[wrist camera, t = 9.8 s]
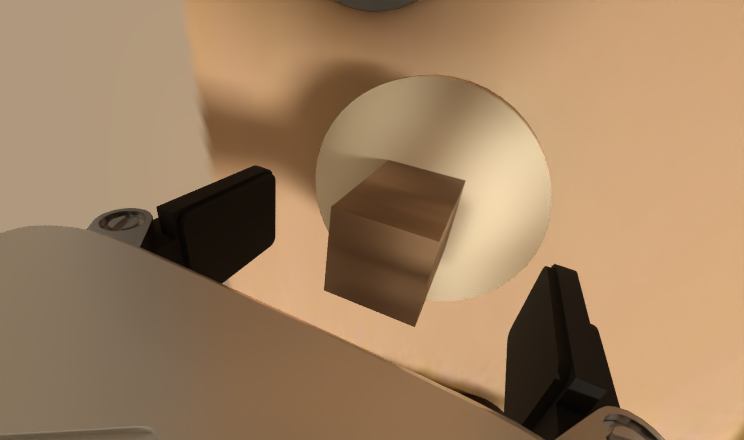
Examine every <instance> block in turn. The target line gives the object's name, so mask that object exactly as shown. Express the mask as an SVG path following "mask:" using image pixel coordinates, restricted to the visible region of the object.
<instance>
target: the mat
mask: <svg viewBox="0 0 744 440" xmlns="http://www.w3.org/2000/svg"><path fill="white" fill-rule="evenodd" d="M336 1H337V2H340V3H342V4H344V5H346V6H349V7H352V8H356V9H359V10H363V11H372V12H379V11H389V10H394V9H399V8H402V7H404V6H407V5H409V4H412V3H414V2H416V1H417V0H336Z"/></svg>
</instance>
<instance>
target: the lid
mask: <svg viewBox="0 0 744 440" xmlns="http://www.w3.org/2000/svg"><path fill="white" fill-rule="evenodd" d="M315 185H316V195H317V201H318V205H319V209H320V213H321V216H322V218H323V221H324V224H325V226H326V228H327V230H328V232H329V237H328V249H327V261H326V273H325V285H324V290H325V291H327V292H330V293H332V294H335V295H337V296H339V297H342V298H344V299H347V300H349V301H352V302H354V303H357V304H359V305H362V306H364V307H367V308H369V309H372V310H374V311H376V312H379V313H381V314H384V315H386V316H389V317H391V318H394V319H396V320H399V321H401V322H404V323H406V324H409V325H411V326H414V327H415V325H416V323H417V320H418V317H419V315H420V312H421V310H422V307H423V304H424V302H425V300H431V301H456V300H464V299H468V298H473V297H477V296H480V295H483V294H485V293H488V292H491V291H493V290H495V289H496V288H498V287H500V286H502V285H504V284H505V283H507V282H508V281H510V280H511V279H512V278H514V277H515V276H516V275H517V274H518V273H519V272H520V271H522V270H523V269H524V268H525V267H526V265H527V264H528V263H529V262H530V260H531V259H532V258H533V257H534V255H535V254H536V252H537V250H538V249H539V247H540V245H541V243H542V241H543V239H544V236H545V233H546V231H547V228H548V224H549V219H550V215H551V204H552V191H551V182H550V175H549V171H548V167H547V164H546V160H545V156H544V153H543V150H542V148H541V146H540V143H539V141H538V139H537V137H536V135H535V134H534V132H533V131H532V129H531V127H530V126H529V124H528V123H527V121H526V120H525V119H524V118H523V117H522V116H521V115H520V114H519V112H518V111H517V110H516V109H515V108H514V107H512V106H511V105H510V104H509V103H508V102H506V101H505V100H504V99H503V98H502V97H500V96H498V95H497V94H495V93H493V92H492V91H490V90H489V89H487V88H485V87H482V86H480V85H478V84H475V83H473V82H471V81H467V80H463V79H460V78H456V77H450V76H441V75H420V76H414V77H408V78H403V79H398V80H394V81H391V82H388V83H385V84H382V85H379V86H377V87H375V88H373V89H371V90H369V91H367V92H365V93H363V94H362V95H361V96H359V97H358V98H356V99H355V100H354V101H352V102H351V103H350V104H349V105H348V106H347V107H346V108H345V109H344V110H343V111H342V112H341V113H340V114H339V115H338V117H337V118H336V119H335V120H334V122H333V123H332V125H331V126H330V128H329V130H328V132H327V133H326V135H325V137H324V140H323V142H322V145H321V147H320V151H319V155H318V159H317V165H316V173H315Z"/></svg>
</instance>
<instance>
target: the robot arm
mask: <svg viewBox="0 0 744 440" xmlns="http://www.w3.org/2000/svg"><path fill="white" fill-rule="evenodd" d="M157 212H158V217H159V218H156V219H154V220H153V216H152V215H151V213H150V212H148V211H146V210H142V209H136V208H126V209H119V210H114V211H110V212H107V213H104V214H102V215H100V216H98V217H97V218H96V219H95V220H94V221H93V222H92V223H91V224H90V226H89V227H88V228H87V229H86V230H85V229H80V228H73V227H63V226H27V227H22V228H17V229H13V230H10V231H6V232H3V233H0V440H665V439H664V438H663V437H662V436H661V435H660V434H659V433H658V432H657V431H656V430H655V429H654V428H653V427H652V426H650V425H649V424H648V423H647V422H645V421H644V420H643V419H641V418H640V417H638V416H636V415H634V414H633V413H631V412H629V411H627V410H624V409H621V408H620V406H619V402H618V399H617V395H616V392H615V388H614V385H613V381H612V377H611V374H610V370H609V367H608V363H607V360H606V356H605V352H604V349H603V345H602V342H601V338H600V335H599V331H598V329H597V327H596V326H594V325H592V324H590V321H589V317H588V313H587V309H586V305H585V301H584V298H583V294H582V290H581V286H580V282H579V278H578V274H577V272H576V271H574V270H571V269H568V268H565V267H562V266H559V265H556V264H554V265H553V266H552V267H551V268H550V267H547V266H545V267H544V268H543V270H542V271H541V273H540V275H539V277H538V279H537V281H536V282H535V284H534V286H533V288H532V290H531V292H530V294H529V296H528V297H527V299H526V301H525V303H524V305H523V307H522V309H521V311H520V312H519V314H518V316H517V318H516V320H515V322H514V324H513V325H512V327H511V329H510V332H509V335H508V340H507V361H506V383H505V405H504V416H503V415H501V414H499V413H497V412H495V411H493V410H491V409H489V408H487V407H485V406H484V405H482V404H480V403H478V402H476V401H474V400H472V399H470V398H468V397H466V396H464V395H462V394H460V393H457V392H455V391H453V390H451V389H449V388H447V387H444V386H442V385H440V384H438V383H436V382H434V381H432V380H430V379H428V378H426V377H424V376H421V375H419V374H417V373H415V372H413V371H411V370H409V369H406V368H404V367H402V366H400V365H398V364H396V363H393V362H391V361H389V360H387V359H385V358H383V357H381V356H378V355H376V354H374V353H372V352H370V351H368V350H365V349H363V348H361V347H359V346H357V345H355V344H353V343H350V342H348V341H346V340H344V339H342V338H340V337H337V336H335V335H333V334H331V333H329V332H327V331H324V330H322V329H320V328H318V327H316V326H313V325H311V324H309V323H307V322H305V321H303V320H300V319H298V318H296V317H294V316H292V315H289V314H287V313H285V312H283V311H281V310H278V309H276V308H274V307H272V306H270V305H267V304H265V303H263V302H261V301H259V300H257V299H254V298H252V297H250V296H248V295H246V294H243V293H241V292H239V291H237V290H234V289H232V288H230V287H228V286H226V285H223V284H222V283H223V282H225V281H226V280H227V279H228V278H230V277H231V276H232V275H234V274H235V273H236V272H238V271H239V270H240V269H241V268H243V267H244V266H245V265H247V264H248V263H249V262H251V261H252V260H253V259H254V258H256V257H257V256H258V255H260V254H261V253H262V252H264V251H265V250H266V249H267V248H269V247H270V246H271V245H272V244H273V242H274V240H275V176H274V175H273V174H272V172H271V171H270V170H268V169H265V168H262V167H259V166H252V167H250V168H247V169H245V170H243V171H240V172H238V173H236V174H233V175H231V176H228V177H226V178H224V179H221V180H219V181H217V182H214V183H212V184H209V185H207V186H205V187H202V188H200V189H198V190H195V191H193V192H190V193H188V194H186V195H183V196H181V197H179V198H176V199H174V200H171V201H169V202H167V203H165V204H162V205H160V206H157Z"/></svg>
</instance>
